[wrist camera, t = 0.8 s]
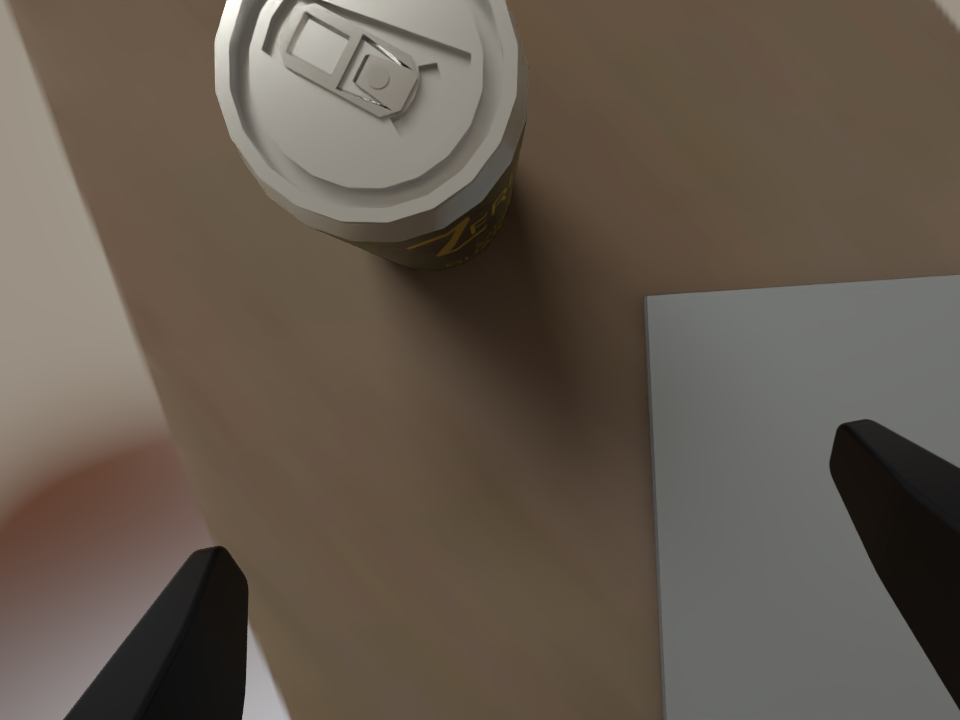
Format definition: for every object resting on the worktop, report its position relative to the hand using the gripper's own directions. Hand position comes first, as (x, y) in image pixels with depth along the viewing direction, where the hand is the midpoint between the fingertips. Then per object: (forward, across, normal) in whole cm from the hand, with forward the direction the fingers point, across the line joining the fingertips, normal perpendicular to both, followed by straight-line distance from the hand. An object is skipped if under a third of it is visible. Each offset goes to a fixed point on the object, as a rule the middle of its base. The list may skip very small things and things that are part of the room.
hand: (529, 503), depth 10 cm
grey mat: (+8, -10, +13) cm, 18 cm away
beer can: (+15, +1, +2) cm, 15 cm away
